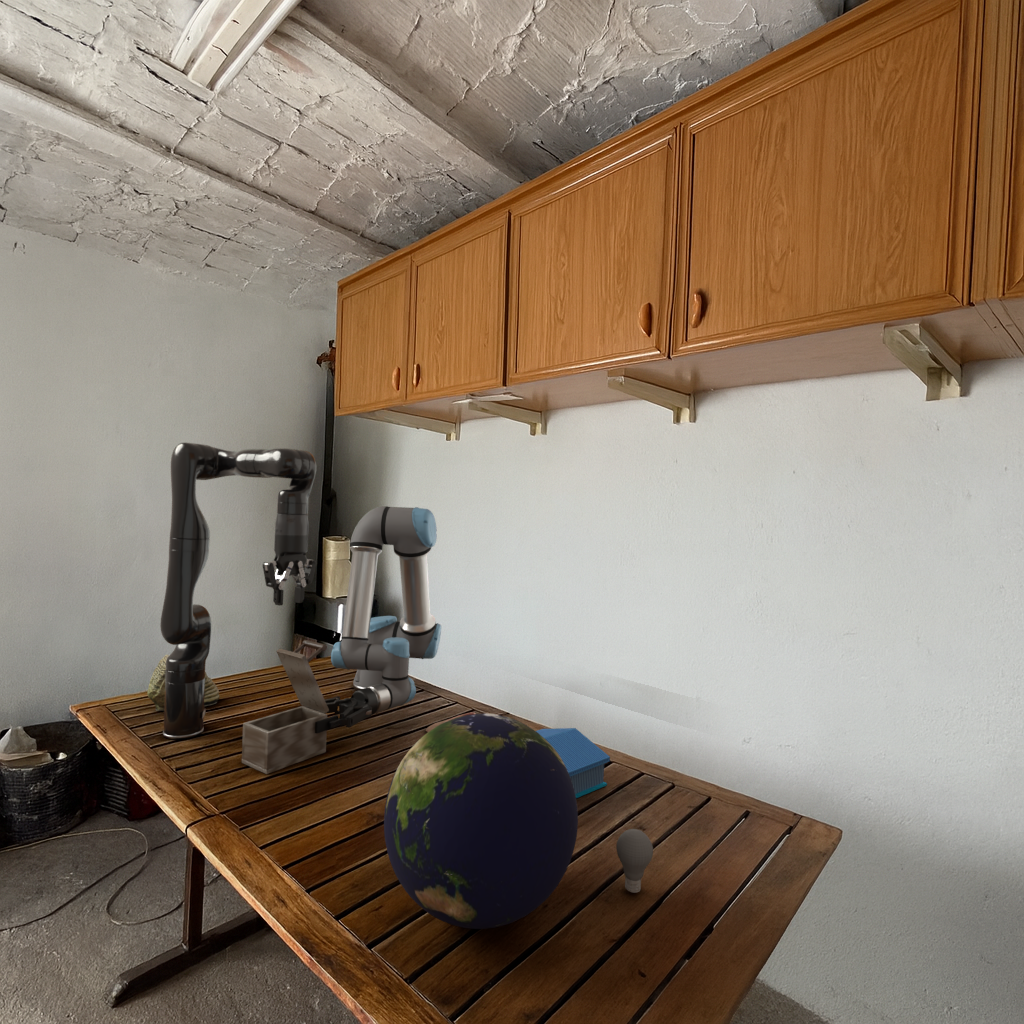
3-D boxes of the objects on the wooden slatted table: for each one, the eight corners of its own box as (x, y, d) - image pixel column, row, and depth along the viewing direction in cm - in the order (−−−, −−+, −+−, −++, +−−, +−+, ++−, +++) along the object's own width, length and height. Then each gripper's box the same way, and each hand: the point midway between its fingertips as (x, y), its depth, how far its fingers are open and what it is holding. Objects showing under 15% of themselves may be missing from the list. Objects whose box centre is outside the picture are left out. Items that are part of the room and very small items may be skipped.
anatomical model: (422, 719, 171) (435, 706, 182) (421, 734, 171) (435, 720, 182) (469, 725, 168) (480, 711, 179) (469, 740, 168) (479, 725, 179)
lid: (301, 658, 150) (326, 637, 155) (276, 651, 155) (300, 631, 161) (326, 713, 156) (348, 692, 162) (300, 704, 162) (323, 684, 168)
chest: (266, 774, 143) (268, 733, 143) (241, 762, 149) (242, 723, 148) (326, 752, 157) (327, 714, 157) (301, 742, 162) (302, 705, 162)
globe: (338, 940, 91) (346, 732, 90) (439, 840, 119) (446, 681, 118) (534, 1012, 80) (544, 775, 79) (594, 883, 107) (603, 707, 107)
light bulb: (610, 879, 108) (613, 822, 108) (644, 879, 109) (647, 822, 109) (619, 902, 102) (622, 840, 102) (655, 901, 103) (658, 840, 103)
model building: (485, 848, 116) (487, 795, 116) (411, 798, 134) (413, 751, 134) (618, 790, 143) (620, 746, 142) (541, 754, 161) (543, 715, 161)
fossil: (144, 707, 182) (145, 655, 182) (212, 696, 194) (213, 647, 194) (151, 716, 175) (153, 662, 175) (221, 703, 188) (223, 653, 188)
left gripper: (275, 534, 143) (272, 609, 144) (326, 533, 155) (323, 602, 155) (255, 532, 147) (252, 605, 148) (306, 531, 159) (303, 598, 160)
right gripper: (398, 724, 169) (331, 749, 150) (341, 705, 181) (273, 727, 163) (399, 696, 169) (333, 718, 150) (342, 679, 181) (275, 698, 163)
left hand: (288, 603), depth 152 cm, fingers open, 5 cm apart
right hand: (302, 722), depth 156 cm, fingers closed on chest, 10 cm apart
